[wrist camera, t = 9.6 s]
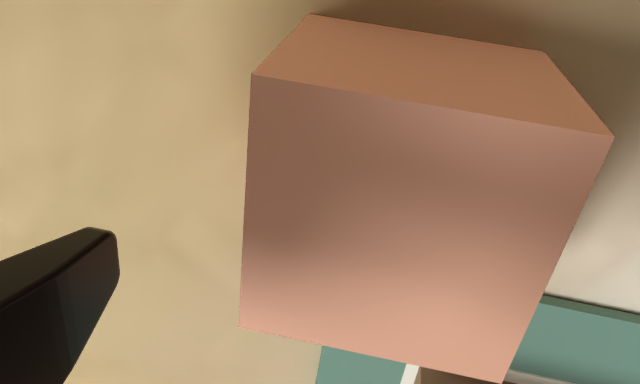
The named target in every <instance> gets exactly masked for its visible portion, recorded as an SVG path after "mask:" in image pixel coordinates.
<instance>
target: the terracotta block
mask: <svg viewBox="0 0 640 384" xmlns="http://www.w3.org/2000/svg"><path fill="white" fill-rule="evenodd" d="M614 138H615V136H614V135H613V134H612V133H611V131H610V130H609V129H608V128H607V127H606V125H605V124H604V123H603V122H602V121H601V119H600V118H599V117H598V116H597V115H596V113H595V112H594V111H593V110H592V109H591V107H590V106H589V105H588V104H587V103H586V101H585V100H584V99H583V98H582V97H581V95H580V94H579V93H578V92H577V91H576V89H575V88H574V87H573V86H572V85H571V83H570V82H569V81H568V80H567V79H566V77H565V76H564V75H563V74H562V73H561V71H560V70H559V69H558V68H557V67H556V65H555V64H554V63H553V62H552V61H551V59H550V58H549V57H548V56H547V55H546V53H545V52H543V51H537V50H531V49H525V48H519V47H512V46H506V45H500V44H494V43H487V42H481V41H475V40H469V39H463V38H456V37H450V36H444V35H438V34H432V33H425V32H419V31H413V30H407V29H401V28H394V27H388V26H382V25H376V24H370V23H363V22H357V21H351V20H345V19H338V18H332V17H326V16H320V15H314V14H309V15H308V16H307V17H306V18H305V19H304V20H303V21H302V22H301V23H300V24H299V25H298V26H297V27H296V28H295V29H294V30H293V31H292V32H291V33H290V34H289V36H288V37H287V38H286V39H285V40H284V41H283V42H282V43H281V44H280V45H279V46H278V47H277V48H276V49H275V50H274V51H273V52H272V53H271V54H270V55H269V56H268V57H267V58H266V59H265V60H264V61H263V62H262V64H261V65H260V66H259V67H258V68H257V69H256V70H255V71H254V72H253V73H252V74H251V89H250V109H249V128H248V148H247V168H246V188H245V207H244V227H243V247H242V267H241V287H240V306H239V326H238V327H240V328H245V329H249V330H254V331H259V332H263V333H268V334H273V335H277V336H282V337H287V338H291V339H296V340H300V341H305V342H310V343H314V344H319V345H324V346H328V347H333V348H337V349H342V350H347V351H351V352H356V353H361V354H365V355H370V356H374V357H379V358H384V359H388V360H393V361H398V362H402V363H407V364H412V365H416V366H421V367H425V368H430V369H435V370H439V371H444V372H449V373H453V374H458V375H462V376H467V377H472V378H476V379H481V380H486V381H490V382H495V383H500V384H502V382H503V380H504V378H505V375H506V373H507V371H508V369H509V367H510V365H511V362H512V360H513V358H514V356H515V354H516V351H517V349H518V347H519V345H520V343H521V341H522V338H523V336H524V334H525V332H526V330H527V328H528V325H529V323H530V321H531V319H532V317H533V315H534V312H535V310H536V308H537V306H538V304H539V301H540V299H541V297H542V295H543V293H544V291H545V288H546V286H547V284H548V282H549V280H550V278H551V275H552V273H553V271H554V269H555V267H556V265H557V262H558V260H559V258H560V256H561V254H562V252H563V249H564V247H565V245H566V243H567V241H568V238H569V236H570V234H571V232H572V230H573V228H574V225H575V223H576V221H577V219H578V217H579V215H580V212H581V210H582V208H583V206H584V204H585V202H586V199H587V197H588V195H589V193H590V191H591V188H592V186H593V184H594V182H595V180H596V178H597V175H598V173H599V171H600V169H601V167H602V165H603V162H604V160H605V158H606V156H607V154H608V152H609V149H610V147H611V145H612V143H613V141H614Z"/></svg>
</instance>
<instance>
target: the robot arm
mask: <svg viewBox="0 0 640 384" xmlns="http://www.w3.org/2000/svg"><path fill="white" fill-rule="evenodd" d="M119 275H120V269H119V258H118V248H117V239H116V236H115V234H114V233H113V232H111V231H108V230H103V229H99V228H94V227H86V228H83V229H81V230H78V231H76V232H73V233H71V234H68V235H65V236H63V237H60V238H58V239H55V240H53V241H50V242H47V243H45V244H42V245H40V246H37V247H35V248H32V249H30V250H27V251H24V252H22V253H19V254H17V255H14V256H12V257H9V258H7V259H4V260H1V261H0V384H63V383H64V381H65V380H66V378H67V377H68V375H69V374H70V372H71V370H72V369H73V367H74V365H75V364H76V362H77V360H78V358H79V356H80V355H81V353H82V351H83V349H84V347H85V345H86V343H87V341H88V339H89V338H90V336H91V334H92V332H93V330H94V328H95V326H96V324H97V322H98V320H99V319H100V317H101V315H102V313H103V311H104V309H105V307H106V305H107V303H108V301H109V299H110V298H111V296H112V294H113V292H114V290H115V288H116V286H117V283H118V280H119Z"/></svg>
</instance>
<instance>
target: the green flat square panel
mask: <svg viewBox="0 0 640 384" xmlns="http://www.w3.org/2000/svg"><path fill="white" fill-rule="evenodd" d="M418 369H419V366H416V365H412V364H407V363H402V362H398V361H393V360H388V359H384V358H379V357H374V356H370V355H365V354H361V353H356V352H351V351H347V350H342V349H337V348H333V347H328V346H324V345H323V347H322V352H321V357H320V363H319V368H318V373H317V379H316V384H414V381H415V378H416V375H417V372H418ZM503 381H507V382H511V383H516V384H640V315H636V314H631V313H627V312H622V311H617V310H612V309H607V308H603V307H598V306H593V305H588V304H583V303H579V302H574V301H569V300H564V299H559V298H555V297H550V296H545V295H542V297H541V299H540V301H539V304H538V306H537V308H536V310H535V312H534V315H533V317H532V319H531V321H530V323H529V325H528V328H527V330H526V332H525V334H524V336H523V338H522V341H521V343H520V345H519V347H518V349H517V351H516V354H515V356H514V358H513V360H512V362H511V365H510V367H509V369H508V371H507V373H506V375H505V378H504V380H503Z"/></svg>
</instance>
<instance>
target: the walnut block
mask: <svg viewBox="0 0 640 384" xmlns="http://www.w3.org/2000/svg"><path fill="white" fill-rule="evenodd" d="M414 384H500V383H495V382H490V381H486V380H481V379H476V378H472V377H467V376H462V375H458V374H453V373H449V372H444V371H439V370H435V369H430V368H425V367H421V366H419V369H418V372H417V375H416V378H415V381H414ZM502 384H516V383H511V382H507V381H503V382H502Z"/></svg>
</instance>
